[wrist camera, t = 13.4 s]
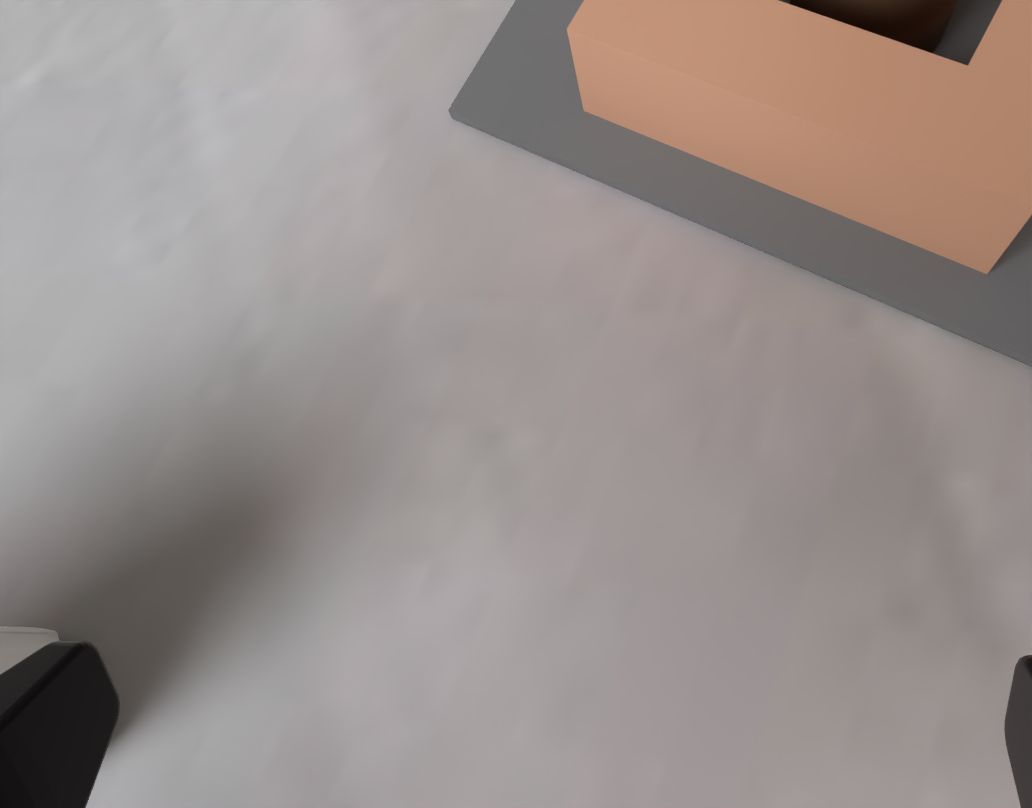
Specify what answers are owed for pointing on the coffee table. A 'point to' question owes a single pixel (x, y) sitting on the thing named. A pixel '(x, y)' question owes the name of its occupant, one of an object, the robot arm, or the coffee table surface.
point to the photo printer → (22, 643)
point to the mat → (742, 182)
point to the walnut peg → (890, 18)
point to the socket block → (828, 111)
